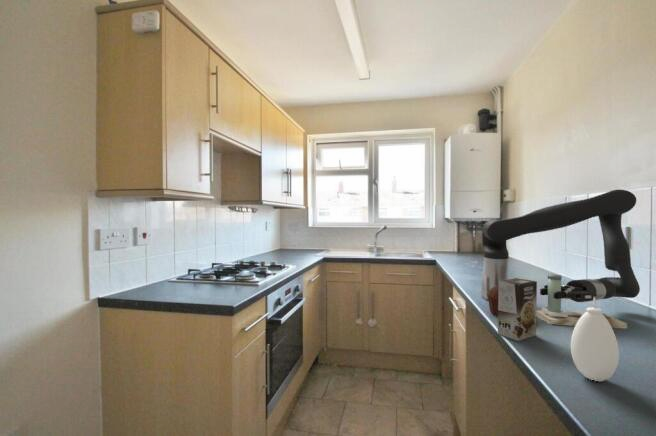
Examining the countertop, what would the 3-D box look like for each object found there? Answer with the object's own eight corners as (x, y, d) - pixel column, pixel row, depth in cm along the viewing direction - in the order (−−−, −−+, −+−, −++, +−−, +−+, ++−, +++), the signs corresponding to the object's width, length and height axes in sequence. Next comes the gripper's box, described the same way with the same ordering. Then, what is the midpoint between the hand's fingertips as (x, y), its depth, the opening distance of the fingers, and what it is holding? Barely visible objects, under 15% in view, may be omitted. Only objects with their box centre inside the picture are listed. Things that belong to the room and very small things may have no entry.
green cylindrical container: (550, 316, 101) (550, 276, 101) (541, 310, 106) (541, 273, 106) (567, 317, 100) (567, 277, 100) (557, 311, 106) (557, 274, 105)
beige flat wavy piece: (549, 324, 99) (549, 319, 99) (533, 314, 109) (533, 309, 109) (627, 328, 95) (627, 323, 95) (603, 317, 105) (603, 313, 105)
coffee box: (518, 342, 86) (519, 284, 85) (496, 333, 91) (497, 280, 91) (537, 335, 90) (538, 281, 89) (515, 328, 95) (515, 277, 95)
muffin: (531, 319, 104) (532, 290, 104) (502, 321, 102) (502, 291, 102) (506, 308, 116) (506, 282, 115) (479, 309, 114) (479, 283, 114)
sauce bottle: (573, 366, 72) (574, 290, 72) (619, 379, 66) (620, 296, 66) (567, 378, 66) (568, 296, 66) (616, 394, 61) (617, 304, 60)
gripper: (565, 275, 114) (528, 278, 109) (609, 284, 100) (569, 287, 95) (564, 295, 114) (528, 299, 109) (609, 306, 100) (569, 311, 96)
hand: (548, 293), depth 102 cm, fingers open, 4 cm apart
